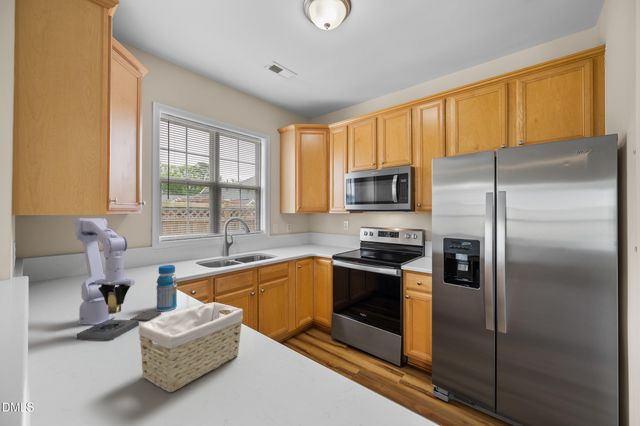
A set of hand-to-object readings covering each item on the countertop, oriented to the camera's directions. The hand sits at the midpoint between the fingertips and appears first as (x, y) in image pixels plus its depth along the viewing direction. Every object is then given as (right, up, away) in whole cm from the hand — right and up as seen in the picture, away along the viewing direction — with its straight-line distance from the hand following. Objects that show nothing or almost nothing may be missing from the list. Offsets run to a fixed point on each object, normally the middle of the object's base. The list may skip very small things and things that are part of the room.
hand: (114, 304), depth 103 cm
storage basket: (+43, -10, -25) cm, 50 cm away
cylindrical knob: (0, -3, 0) cm, 3 cm away
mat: (+4, -10, +12) cm, 16 cm away
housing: (-1, -10, -2) cm, 10 cm away
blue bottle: (+7, -10, +23) cm, 26 cm away
